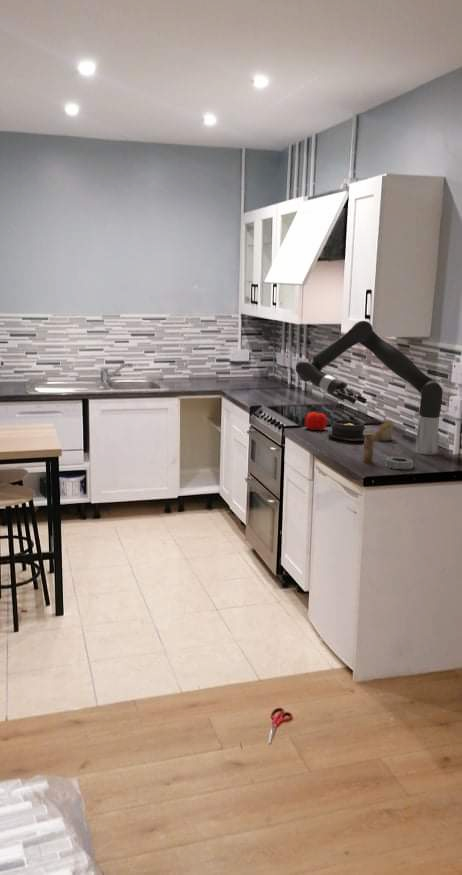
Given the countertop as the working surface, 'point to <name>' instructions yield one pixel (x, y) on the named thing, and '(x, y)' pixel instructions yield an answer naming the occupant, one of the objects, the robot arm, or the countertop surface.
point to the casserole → (347, 430)
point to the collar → (398, 463)
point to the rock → (384, 432)
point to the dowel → (368, 447)
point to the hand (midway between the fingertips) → (360, 401)
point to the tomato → (315, 421)
